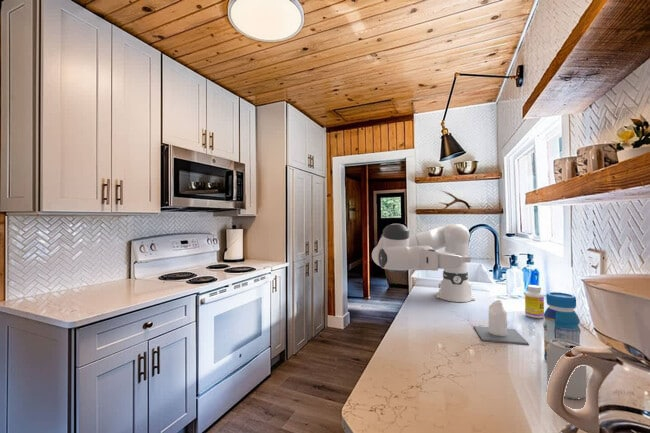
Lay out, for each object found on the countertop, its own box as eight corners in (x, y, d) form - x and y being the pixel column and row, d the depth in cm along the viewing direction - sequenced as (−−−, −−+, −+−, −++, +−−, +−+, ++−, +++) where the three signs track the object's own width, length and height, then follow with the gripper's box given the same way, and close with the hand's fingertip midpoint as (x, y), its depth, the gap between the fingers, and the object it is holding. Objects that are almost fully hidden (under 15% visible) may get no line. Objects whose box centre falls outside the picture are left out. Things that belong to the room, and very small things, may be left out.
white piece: (484, 299, 110) (494, 297, 113) (485, 331, 110) (494, 329, 113) (501, 302, 105) (510, 300, 108) (501, 337, 105) (510, 334, 108)
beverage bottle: (573, 374, 81) (572, 300, 81) (538, 361, 88) (537, 293, 89) (586, 366, 86) (585, 295, 86) (551, 354, 93) (551, 289, 93)
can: (575, 405, 68) (574, 351, 68) (540, 388, 75) (539, 339, 75) (593, 396, 71) (593, 345, 71) (558, 381, 78) (558, 334, 78)
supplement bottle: (541, 319, 124) (541, 288, 124) (523, 316, 129) (522, 286, 129) (546, 316, 129) (545, 286, 129) (527, 312, 134) (527, 283, 134)
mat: (473, 327, 116) (473, 326, 116) (514, 330, 113) (514, 329, 113) (482, 340, 104) (482, 339, 104) (528, 344, 100) (528, 343, 100)
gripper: (416, 262, 119) (451, 262, 119) (435, 271, 99) (477, 271, 99) (415, 246, 119) (450, 246, 119) (435, 252, 99) (477, 252, 99)
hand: (463, 257), depth 109 cm, fingers open, 8 cm apart
